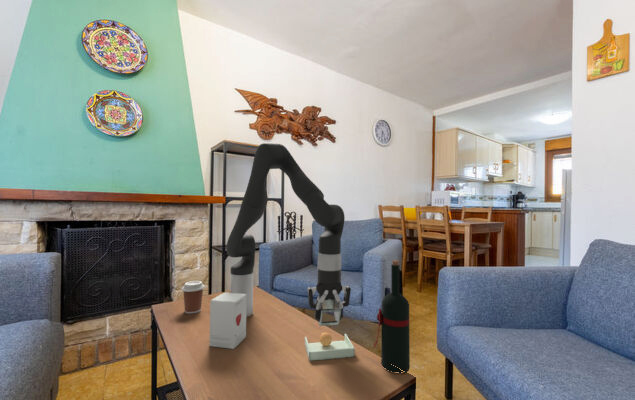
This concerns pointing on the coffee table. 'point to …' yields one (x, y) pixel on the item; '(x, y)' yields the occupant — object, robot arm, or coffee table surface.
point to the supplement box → (227, 320)
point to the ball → (325, 339)
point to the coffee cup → (193, 296)
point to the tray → (330, 350)
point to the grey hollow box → (330, 307)
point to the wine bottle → (394, 327)
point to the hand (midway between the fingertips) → (328, 319)
